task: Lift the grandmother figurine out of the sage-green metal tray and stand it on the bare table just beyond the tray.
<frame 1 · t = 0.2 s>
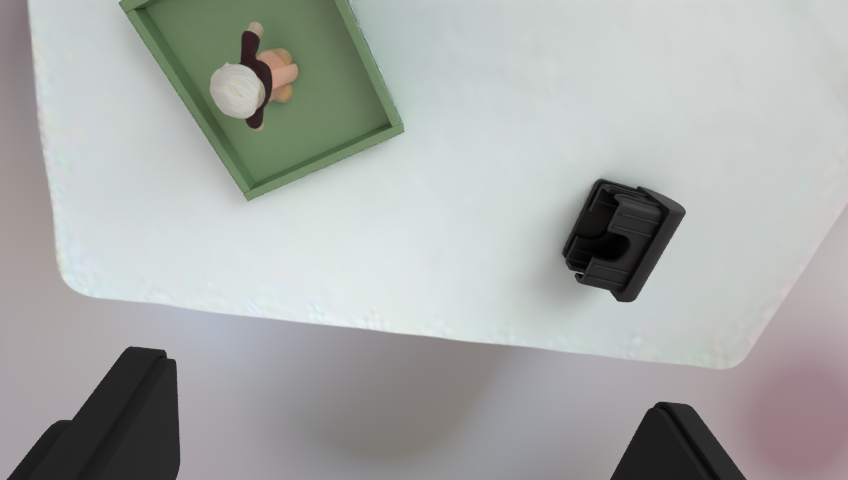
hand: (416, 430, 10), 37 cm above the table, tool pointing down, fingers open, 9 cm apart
end cap: (607, 224, 50), on the table
grandmother figurine: (277, 68, 41), resting on tray
tray: (277, 68, 41), on the table
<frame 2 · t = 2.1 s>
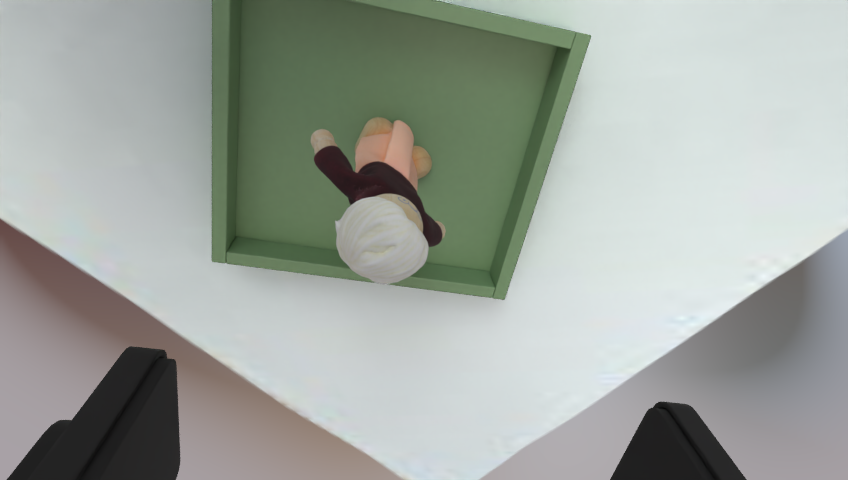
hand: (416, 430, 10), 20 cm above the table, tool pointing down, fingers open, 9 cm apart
grandmother figurine: (385, 146, 27), resting on tray
tray: (385, 145, 27), on the table
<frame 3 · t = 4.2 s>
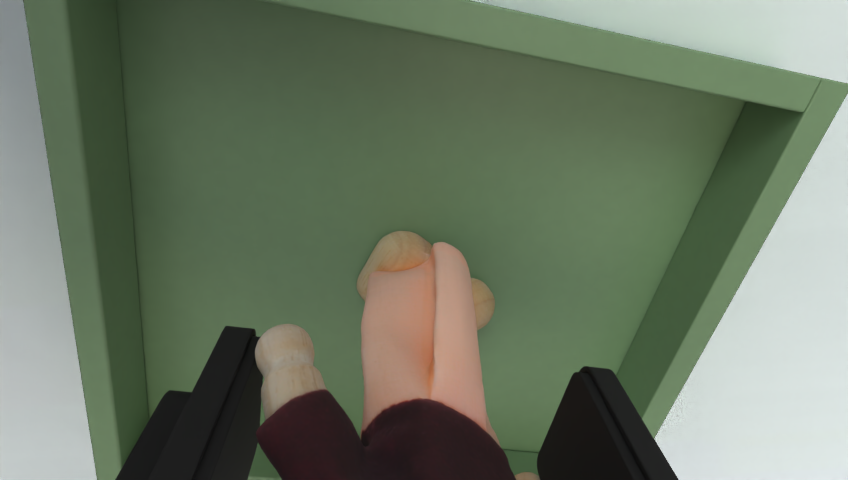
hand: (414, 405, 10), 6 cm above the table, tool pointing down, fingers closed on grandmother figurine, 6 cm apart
grandmother figurine: (412, 276, 15), resting on tray, touching gripper
tray: (410, 272, 15), on the table
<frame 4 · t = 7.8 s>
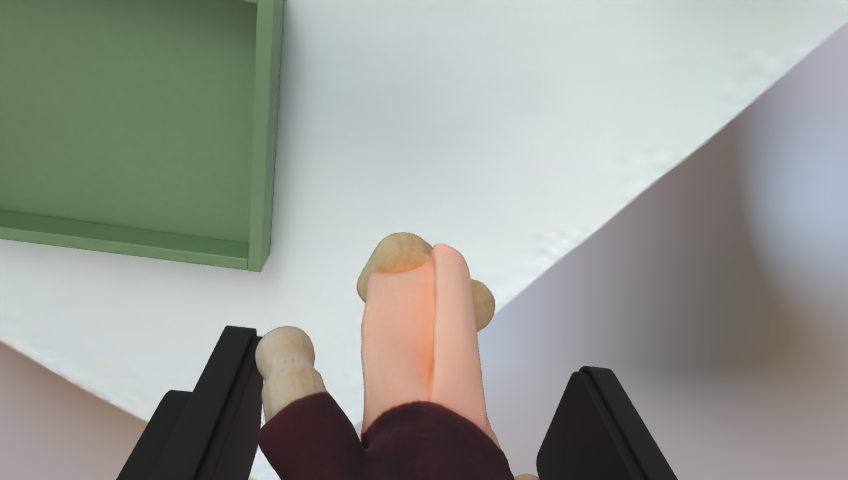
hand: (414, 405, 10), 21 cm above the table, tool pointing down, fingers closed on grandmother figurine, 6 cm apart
grandmother figurine: (413, 278, 15), point 15 cm above the table, touching gripper
tray: (115, 110, 27), on the table
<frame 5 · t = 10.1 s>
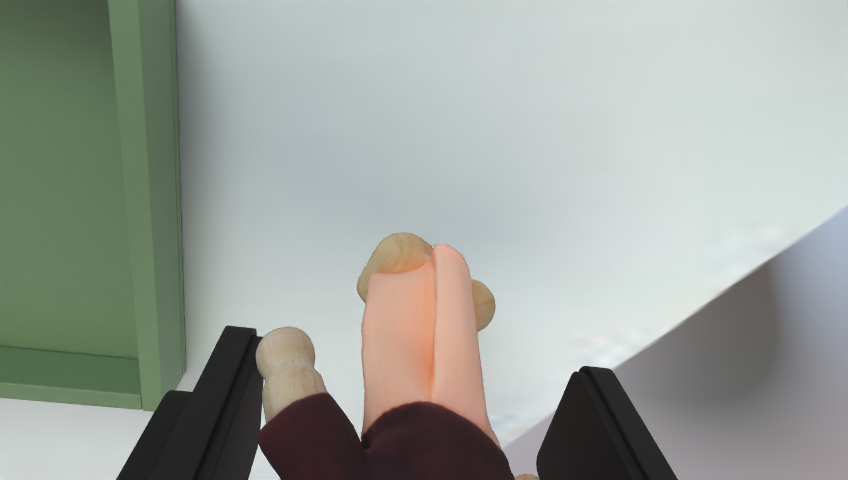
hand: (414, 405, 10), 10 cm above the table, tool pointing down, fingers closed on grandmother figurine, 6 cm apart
grandmother figurine: (413, 278, 15), point 4 cm above the table, touching gripper
when the fingers open (5 cm above the table, at t = 11.5 s): grandmother figurine stays where it is, on the table.
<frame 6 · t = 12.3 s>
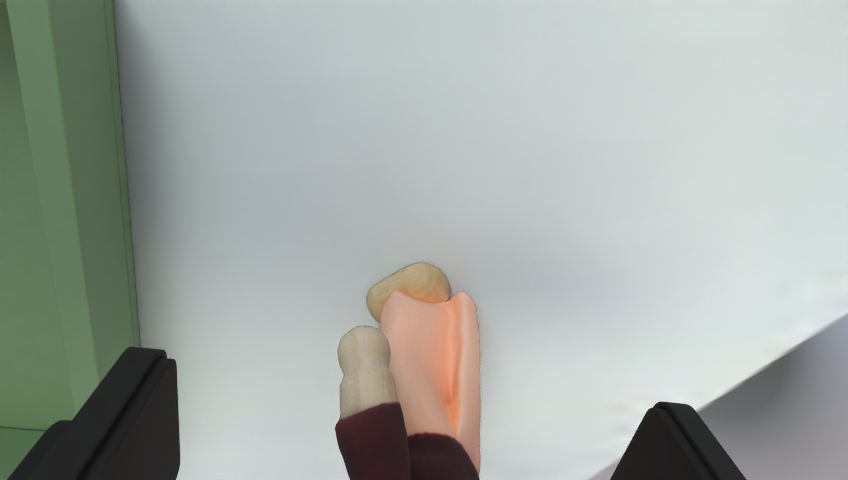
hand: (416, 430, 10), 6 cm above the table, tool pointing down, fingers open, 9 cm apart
grandmother figurine: (416, 306, 16), on the table
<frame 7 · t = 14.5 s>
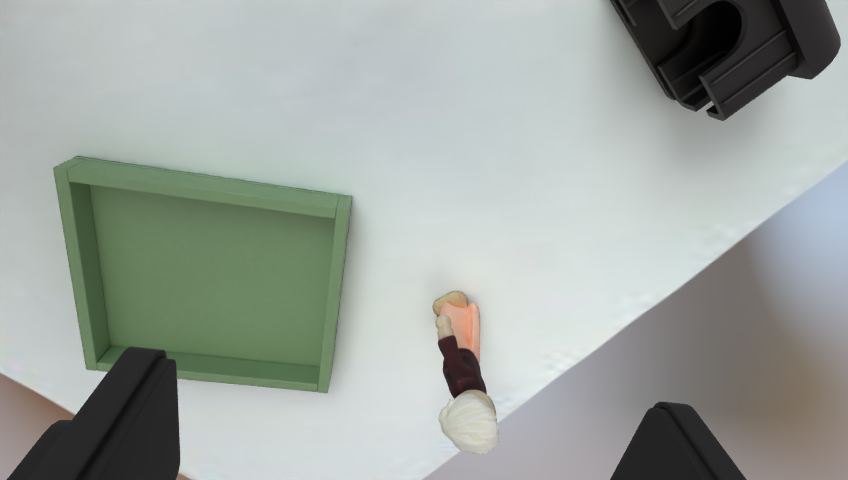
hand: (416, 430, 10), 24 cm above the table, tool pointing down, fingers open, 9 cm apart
end cap: (686, 3, 29), on the table
grandmother figurine: (453, 308, 37), on the table
tray: (220, 277, 35), on the table
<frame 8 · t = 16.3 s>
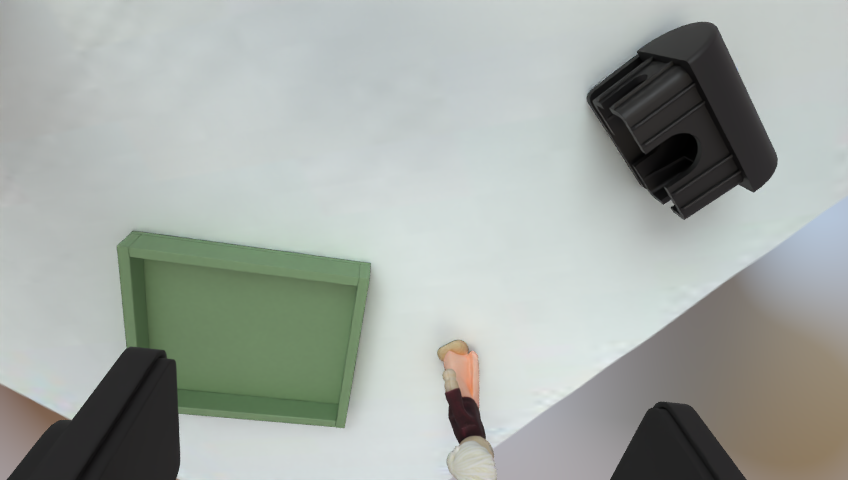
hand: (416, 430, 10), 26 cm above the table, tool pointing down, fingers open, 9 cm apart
end cap: (656, 112, 34), on the table
grandmother figurine: (455, 354, 43), on the table
tray: (252, 329, 40), on the table
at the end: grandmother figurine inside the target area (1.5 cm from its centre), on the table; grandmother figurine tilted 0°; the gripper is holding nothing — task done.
